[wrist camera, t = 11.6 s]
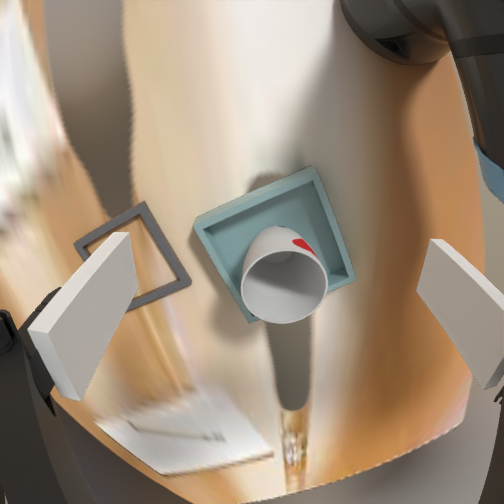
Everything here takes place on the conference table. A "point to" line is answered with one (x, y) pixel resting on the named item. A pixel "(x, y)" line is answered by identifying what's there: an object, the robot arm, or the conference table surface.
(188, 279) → the grey flat square frame
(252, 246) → the cup
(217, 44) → the conference table surface
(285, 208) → the bin
